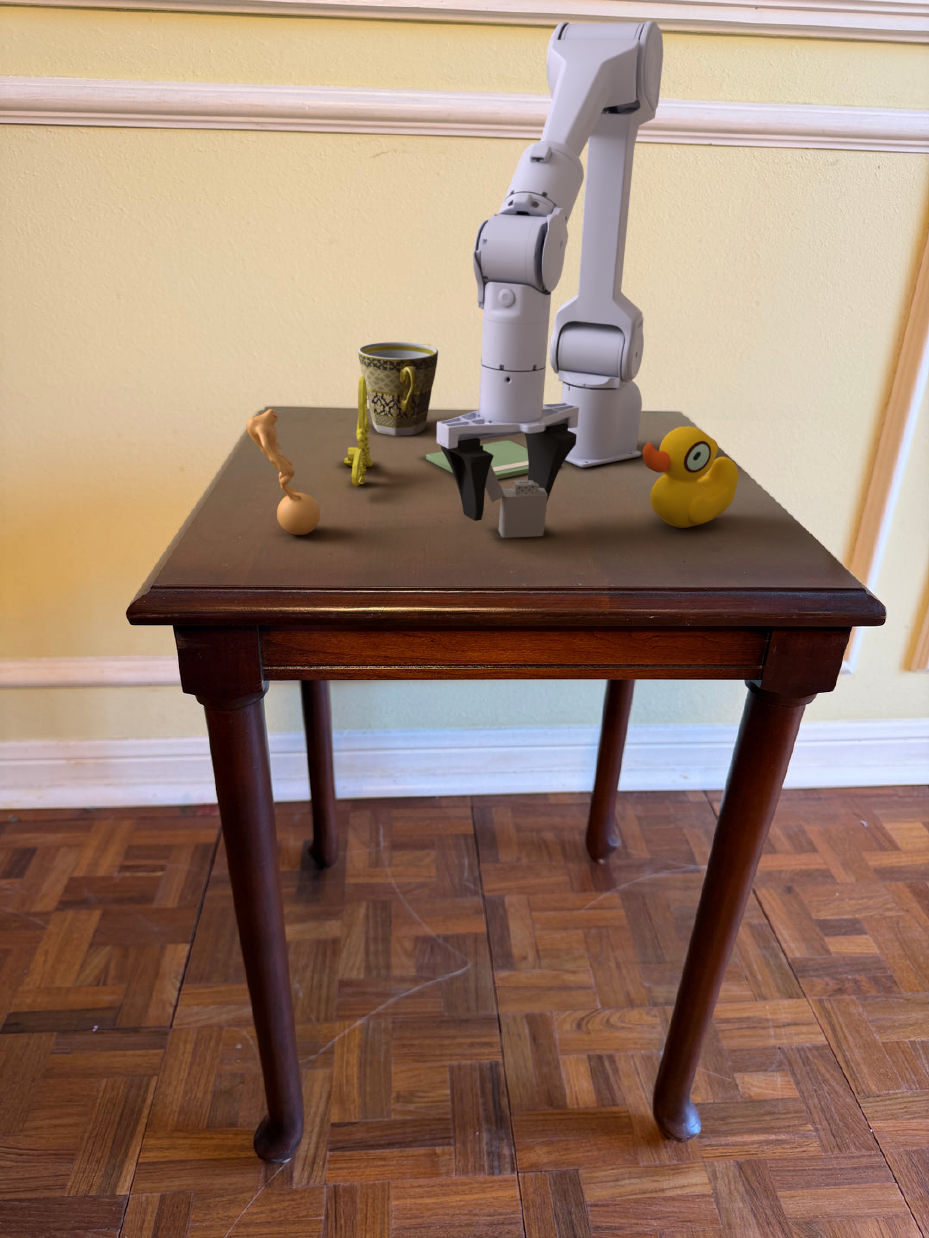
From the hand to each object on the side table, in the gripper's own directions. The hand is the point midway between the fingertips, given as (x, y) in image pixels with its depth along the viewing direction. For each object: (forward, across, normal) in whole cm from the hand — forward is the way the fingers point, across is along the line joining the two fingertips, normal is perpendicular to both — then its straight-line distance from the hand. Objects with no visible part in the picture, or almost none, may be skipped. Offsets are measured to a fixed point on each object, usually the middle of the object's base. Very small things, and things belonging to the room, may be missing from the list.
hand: (505, 509), depth 84 cm
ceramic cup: (+3, +8, +34) cm, 35 cm away
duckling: (+3, +17, -7) cm, 19 cm away
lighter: (+3, 0, 0) cm, 3 cm away
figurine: (+3, -18, +10) cm, 21 cm away
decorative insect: (+3, -6, +20) cm, 21 cm away
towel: (+2, +11, +18) cm, 21 cm away
